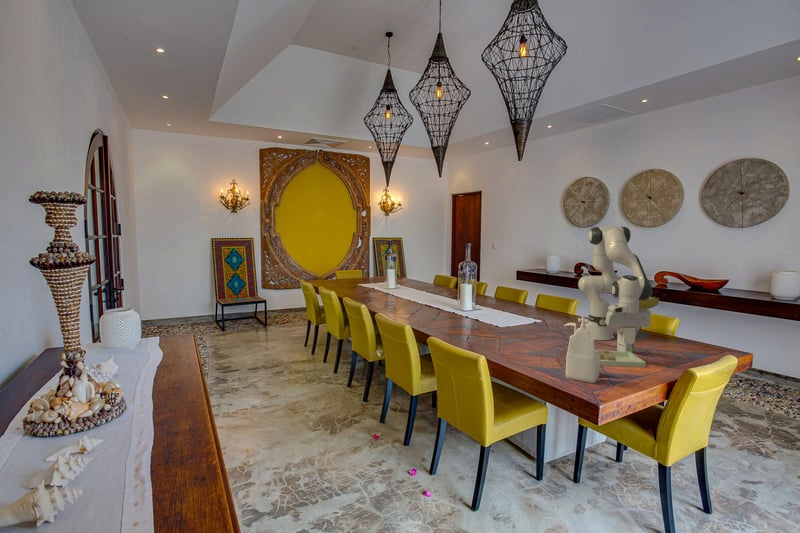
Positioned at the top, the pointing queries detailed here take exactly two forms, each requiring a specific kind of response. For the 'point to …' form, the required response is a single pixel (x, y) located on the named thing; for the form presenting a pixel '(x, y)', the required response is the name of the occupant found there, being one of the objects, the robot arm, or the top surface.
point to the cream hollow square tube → (627, 335)
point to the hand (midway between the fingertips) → (627, 335)
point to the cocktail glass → (647, 304)
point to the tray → (624, 360)
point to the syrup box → (624, 346)
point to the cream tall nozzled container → (582, 355)
